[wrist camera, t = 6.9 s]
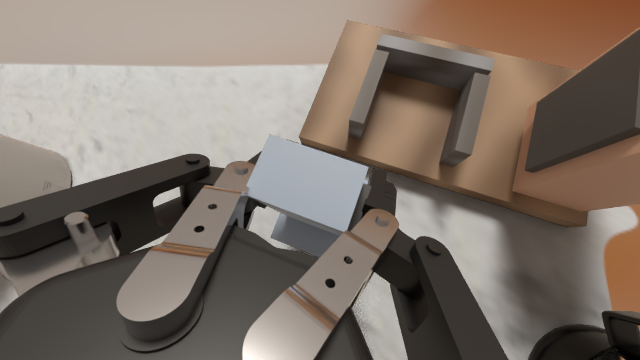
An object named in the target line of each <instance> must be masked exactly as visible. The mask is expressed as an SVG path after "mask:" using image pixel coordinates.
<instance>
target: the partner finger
mask: <svg viewBox="0 0 640 360" xmlns="http://www.w3.org/2000/svg"><path fill="white" fill-rule="evenodd" d="M512 191H514V192H517V193H521V194H524V195H527V196H530V197H534V198H537V199H540V200H544V201H547V202H550V203H553V204H557V205H560V206H563V207H567V208H570V209H573V210H576V211H580V212H582V211H590V210H597V209H605V208H613V207H621V206H628V205H635V204H640V27H639V28H638V29H636V30H635V31H634V32H632V33H631V34H629V35H628V36H627V37H625V38H624V39H622V40H621V41H620V42H618V43H617V44H616V45H614V46H613V47H611V48H610V49H609V50H607V51H606V52H605V53H603V54H602V55H600V56H599V57H598V58H596V59H595V60H593V61H592V62H591V63H589V64H588V65H586V66H585V67H584V68H582V69H581V70H580V71H578V72H577V73H575V74H574V75H573V76H571V77H570V78H568V79H567V80H566V81H564V82H563V83H562V84H560V85H559V86H557V87H556V88H555V89H553V90H552V91H550V92H549V93H548V94H546V95H545V96H544V97H542V98H541V99H539V100H538V101H537V102H535V103H534V104H532V105H531V106H530V107H528V112H527V117H526V122H525V128H524V133H523V138H522V143H521V148H520V153H519V159H518V164H517V169H516V174H515V179H514V184H513V190H512Z"/></svg>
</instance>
